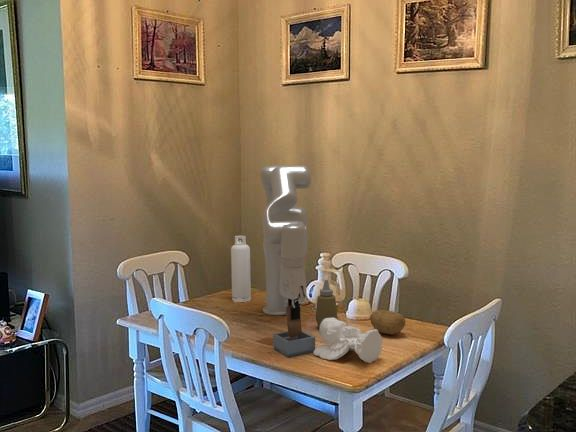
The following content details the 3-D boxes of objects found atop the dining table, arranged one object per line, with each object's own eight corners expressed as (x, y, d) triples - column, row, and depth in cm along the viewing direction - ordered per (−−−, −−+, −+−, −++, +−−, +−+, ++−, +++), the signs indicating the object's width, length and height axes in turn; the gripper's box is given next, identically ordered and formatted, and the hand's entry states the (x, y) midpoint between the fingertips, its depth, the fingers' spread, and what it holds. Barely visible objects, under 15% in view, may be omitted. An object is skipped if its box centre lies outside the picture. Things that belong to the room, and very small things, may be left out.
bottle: (230, 302, 258) (228, 237, 255) (234, 297, 266) (233, 234, 263) (248, 302, 257) (247, 237, 254) (252, 298, 265) (251, 235, 262)
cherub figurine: (358, 337, 178) (308, 317, 191) (355, 376, 180) (306, 353, 194) (384, 326, 187) (335, 307, 200) (381, 363, 190) (332, 342, 203)
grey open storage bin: (273, 348, 199) (273, 334, 199) (299, 343, 204) (299, 329, 204) (288, 357, 191) (288, 342, 190) (315, 352, 196) (315, 337, 195)
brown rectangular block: (288, 336, 197) (285, 306, 195) (299, 332, 199) (296, 303, 197) (291, 337, 195) (288, 308, 194) (302, 334, 197) (299, 305, 196)
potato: (381, 326, 223) (381, 304, 222) (411, 335, 212) (411, 313, 211) (362, 331, 217) (362, 309, 216) (392, 341, 206) (392, 318, 205)
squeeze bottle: (336, 332, 216) (336, 283, 214) (313, 331, 217) (313, 282, 215) (338, 325, 224) (338, 278, 222) (317, 324, 225) (317, 277, 223)
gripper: (271, 260, 199) (272, 314, 201) (295, 268, 186) (296, 326, 188) (290, 257, 203) (291, 311, 205) (316, 265, 189) (316, 322, 191)
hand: (293, 318), depth 196 cm, fingers closed on brown rectangular block, 1 cm apart
